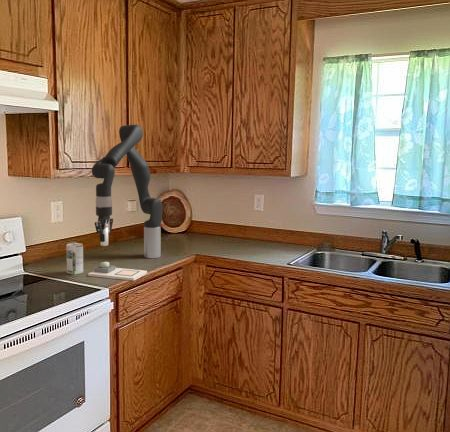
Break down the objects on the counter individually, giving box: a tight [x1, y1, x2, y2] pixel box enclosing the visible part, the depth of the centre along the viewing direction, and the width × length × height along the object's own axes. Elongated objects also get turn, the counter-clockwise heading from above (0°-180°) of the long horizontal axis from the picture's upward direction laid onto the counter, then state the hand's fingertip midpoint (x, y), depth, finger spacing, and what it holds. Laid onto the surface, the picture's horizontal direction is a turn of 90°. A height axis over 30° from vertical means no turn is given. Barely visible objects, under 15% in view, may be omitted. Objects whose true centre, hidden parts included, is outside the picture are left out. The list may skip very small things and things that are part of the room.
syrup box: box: [66, 242, 84, 275], centre depth 228 cm, size 6×6×14 cm
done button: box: [99, 261, 110, 268], centre depth 229 cm, size 4×4×3 cm
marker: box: [100, 224, 109, 247], centre depth 226 cm, size 4×4×10 cm
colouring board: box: [87, 264, 148, 282], centre depth 227 cm, size 14×24×3 cm, turn 74°
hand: (104, 240), depth 227 cm, fingers closed on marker, 3 cm apart
